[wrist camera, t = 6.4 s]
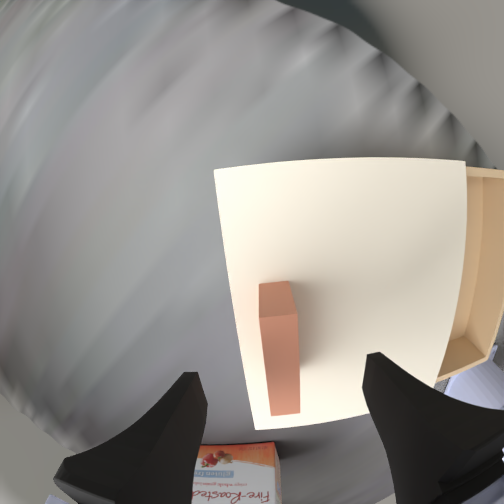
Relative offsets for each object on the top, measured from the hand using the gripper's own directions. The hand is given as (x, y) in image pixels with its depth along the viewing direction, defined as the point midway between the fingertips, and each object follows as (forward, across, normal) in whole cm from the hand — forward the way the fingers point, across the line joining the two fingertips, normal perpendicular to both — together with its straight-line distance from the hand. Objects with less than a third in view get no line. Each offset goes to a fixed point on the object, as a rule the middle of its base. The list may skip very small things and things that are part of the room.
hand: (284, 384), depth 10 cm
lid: (+5, -5, 0) cm, 7 cm away
